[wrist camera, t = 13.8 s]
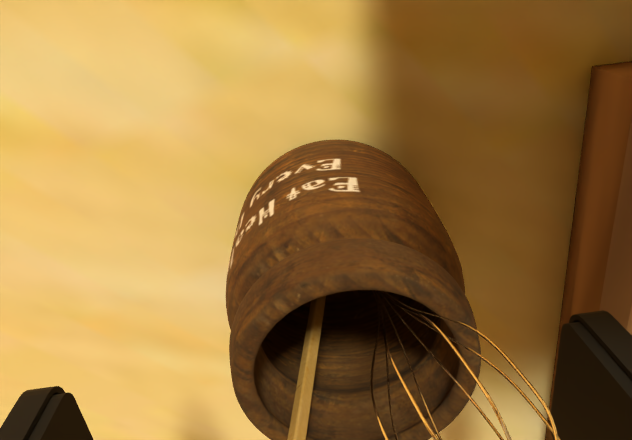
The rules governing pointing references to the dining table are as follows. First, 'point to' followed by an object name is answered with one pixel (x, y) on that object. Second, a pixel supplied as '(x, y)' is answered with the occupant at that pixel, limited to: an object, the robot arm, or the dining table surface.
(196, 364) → the dining table surface
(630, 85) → the tray
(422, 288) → the utensil holder
